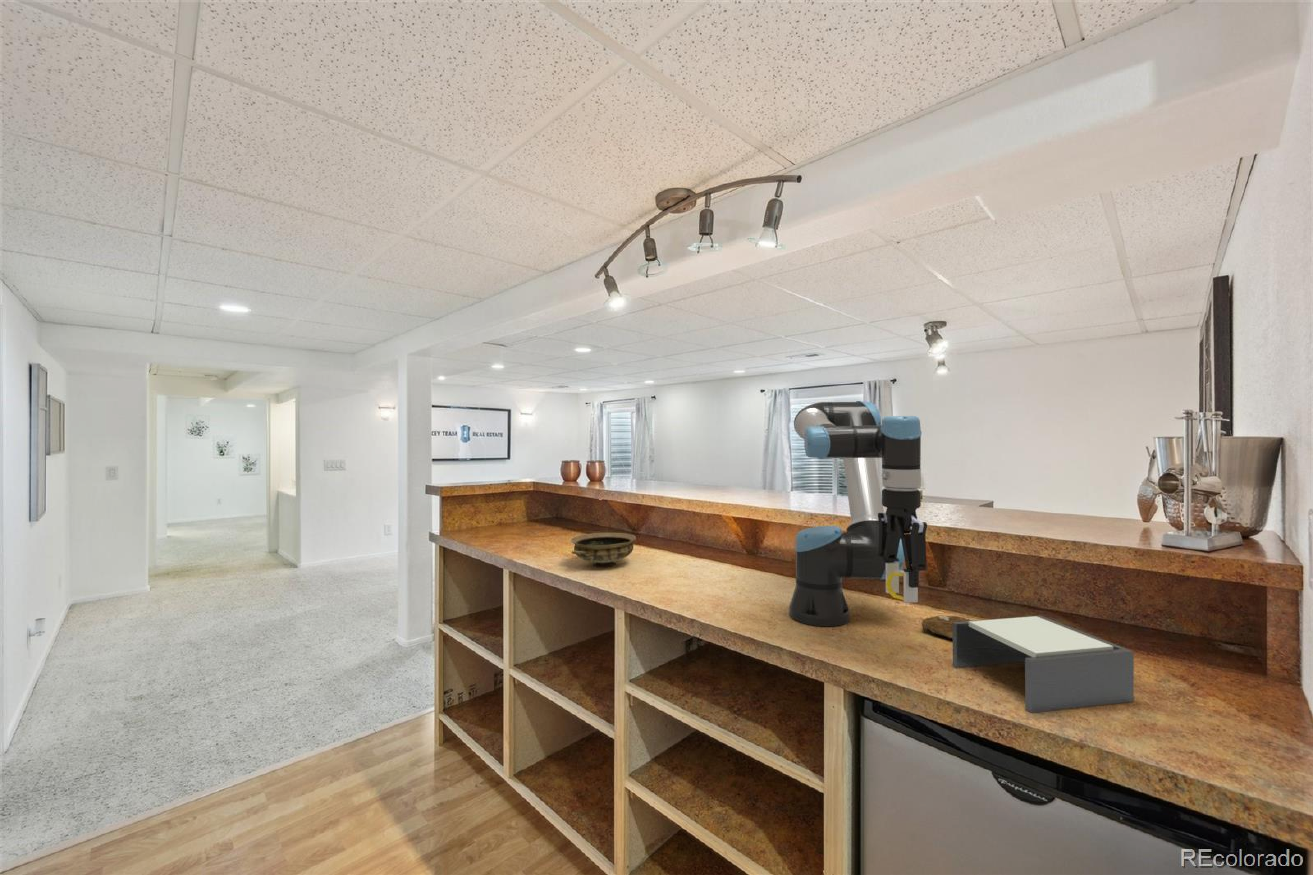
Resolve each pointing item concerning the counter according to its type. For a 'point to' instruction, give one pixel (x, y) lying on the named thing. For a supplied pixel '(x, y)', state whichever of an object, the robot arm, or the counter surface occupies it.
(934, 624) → the decorative rock
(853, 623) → the counter surface
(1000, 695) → the counter surface
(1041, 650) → the trapdoor
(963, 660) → the stand
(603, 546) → the ceramic bowl
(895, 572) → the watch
